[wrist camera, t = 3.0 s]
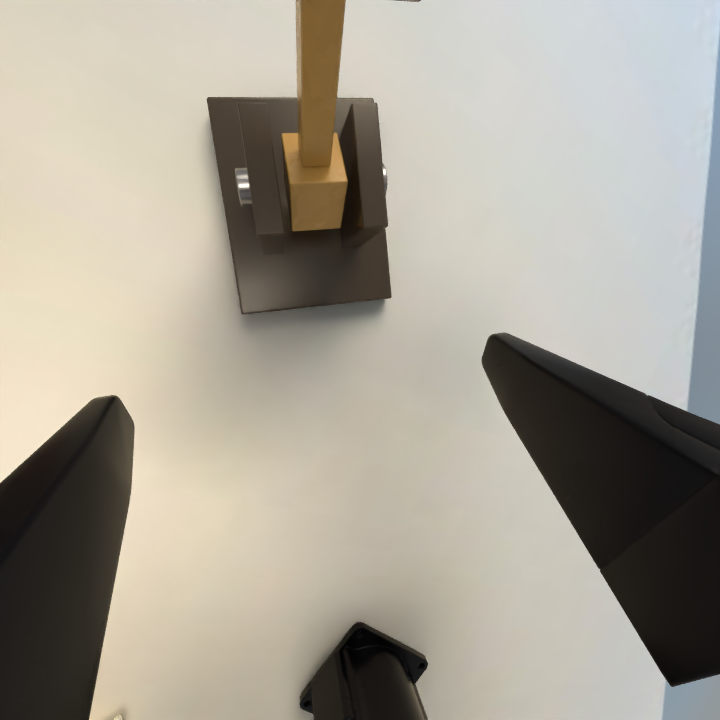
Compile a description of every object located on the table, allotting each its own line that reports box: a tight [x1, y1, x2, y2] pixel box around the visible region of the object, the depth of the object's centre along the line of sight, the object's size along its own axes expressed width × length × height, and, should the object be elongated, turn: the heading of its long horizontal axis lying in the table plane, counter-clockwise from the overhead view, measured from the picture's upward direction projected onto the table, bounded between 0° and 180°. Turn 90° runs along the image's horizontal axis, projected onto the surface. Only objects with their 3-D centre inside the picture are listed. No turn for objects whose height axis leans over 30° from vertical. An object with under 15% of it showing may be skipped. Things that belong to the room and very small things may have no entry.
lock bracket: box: [207, 97, 391, 314], centre depth 16 cm, size 10×8×6 cm
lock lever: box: [281, 0, 421, 231], centre depth 12 cm, size 9×5×2 cm
